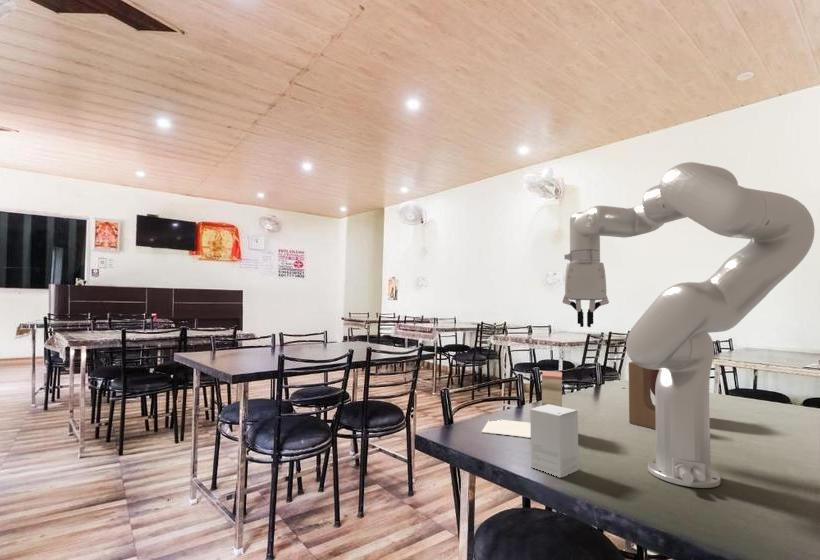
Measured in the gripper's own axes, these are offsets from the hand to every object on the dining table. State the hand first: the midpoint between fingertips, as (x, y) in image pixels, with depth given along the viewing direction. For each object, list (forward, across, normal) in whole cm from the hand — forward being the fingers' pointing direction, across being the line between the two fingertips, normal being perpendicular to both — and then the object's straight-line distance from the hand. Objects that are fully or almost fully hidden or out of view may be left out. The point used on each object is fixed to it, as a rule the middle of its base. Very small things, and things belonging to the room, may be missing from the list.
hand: (585, 326), depth 114 cm
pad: (+29, -20, 0) cm, 35 cm away
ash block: (+29, -8, 0) cm, 30 cm away
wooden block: (+29, +18, +18) cm, 39 cm away
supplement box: (+29, -8, -26) cm, 40 cm away
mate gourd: (+29, +28, +32) cm, 51 cm away
